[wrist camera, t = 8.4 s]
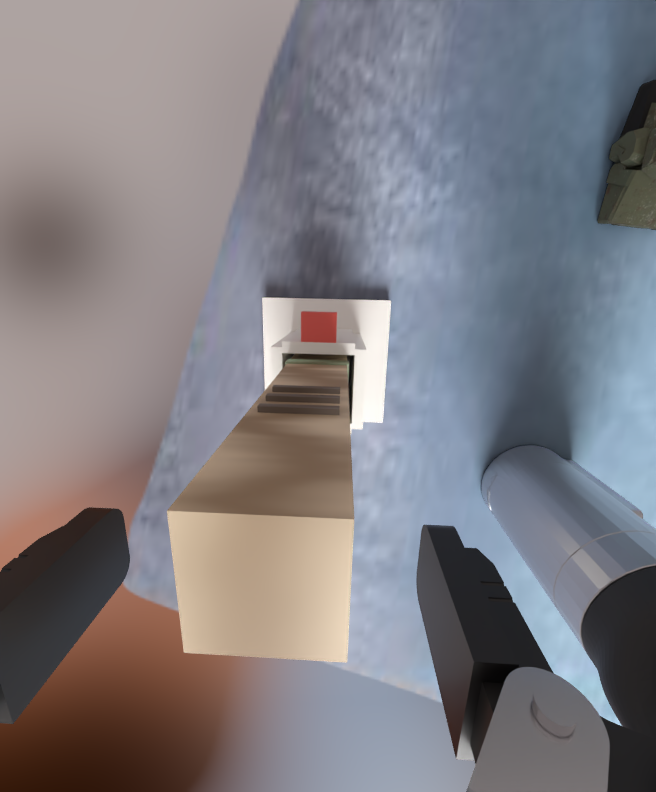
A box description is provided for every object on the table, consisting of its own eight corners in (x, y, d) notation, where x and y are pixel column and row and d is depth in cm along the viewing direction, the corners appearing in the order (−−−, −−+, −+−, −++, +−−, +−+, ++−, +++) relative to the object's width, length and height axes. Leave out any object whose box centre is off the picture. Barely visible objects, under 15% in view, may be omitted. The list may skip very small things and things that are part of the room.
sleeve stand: (389, 300, 34) (410, 303, 23) (381, 417, 38) (396, 469, 27) (265, 297, 35) (229, 299, 24) (268, 413, 38) (237, 462, 27)
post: (348, 350, 28) (359, 509, 7) (346, 402, 29) (350, 665, 9) (295, 348, 28) (161, 500, 8) (295, 401, 29) (180, 655, 9)
